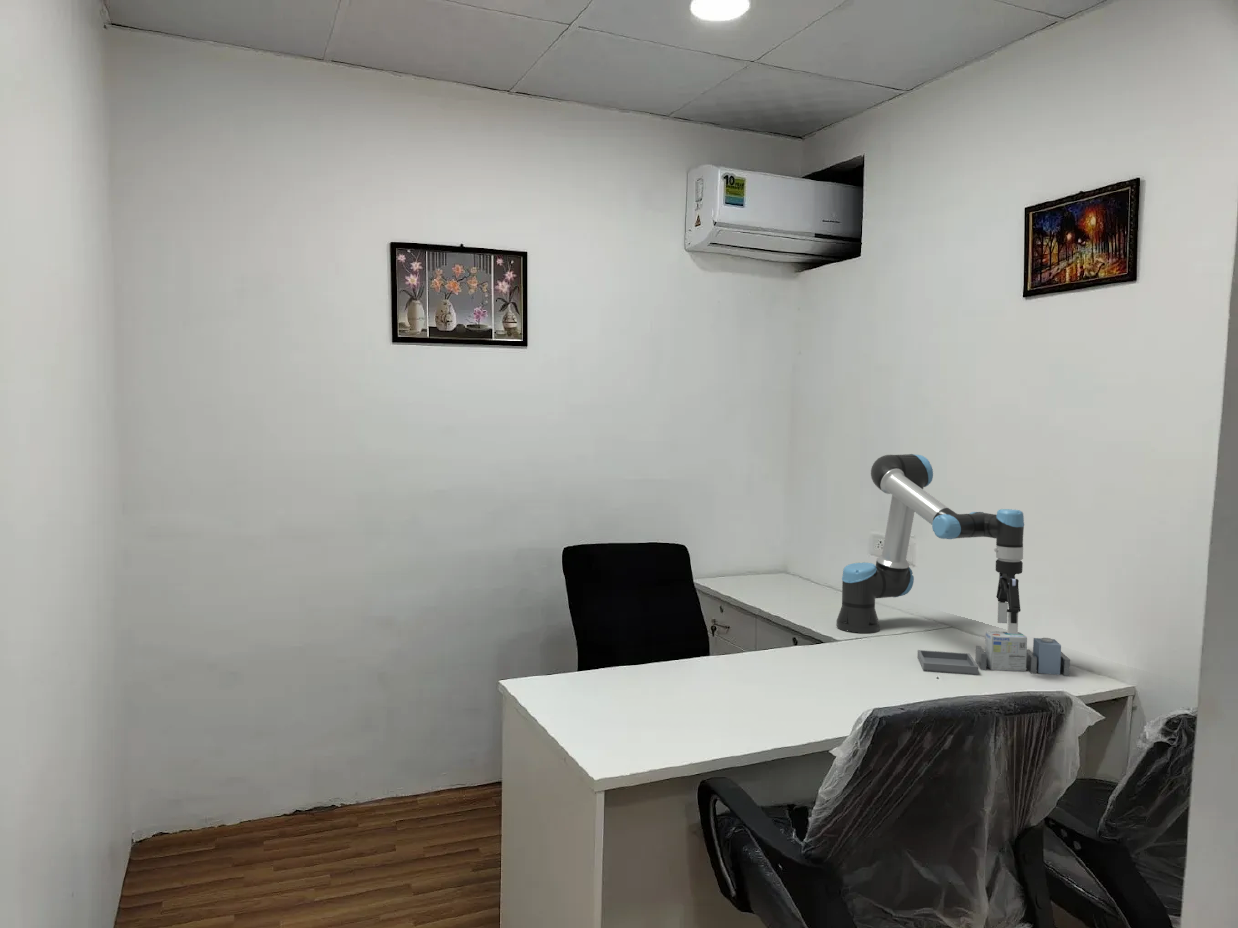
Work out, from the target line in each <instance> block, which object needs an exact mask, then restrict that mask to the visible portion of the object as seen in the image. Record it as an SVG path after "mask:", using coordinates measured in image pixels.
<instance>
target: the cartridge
mask: <svg viewBox="0 0 1238 928" xmlns="http://www.w3.org/2000/svg"><path fill="white" fill-rule="evenodd" d="M1032 646H1033V647H1032V653H1033V654H1034V655H1035V656H1036V657H1037V667H1036V673H1038V674H1045V675H1061V672H1060V661H1061V652H1062V645H1061V644H1060V643H1059V642H1058V641H1057V639H1056V638H1055V639H1054V638H1051V637H1050V638H1049V637H1040V638H1039V637H1033V645H1032Z"/></svg>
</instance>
